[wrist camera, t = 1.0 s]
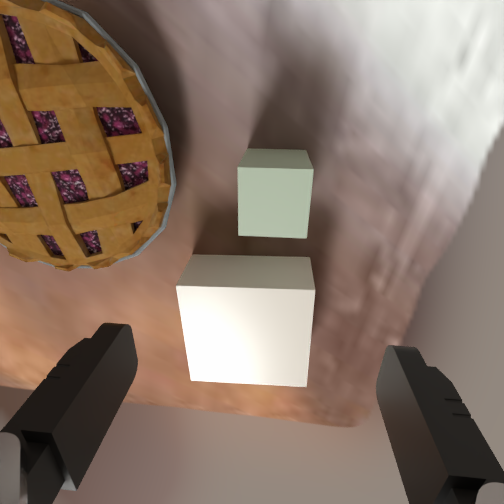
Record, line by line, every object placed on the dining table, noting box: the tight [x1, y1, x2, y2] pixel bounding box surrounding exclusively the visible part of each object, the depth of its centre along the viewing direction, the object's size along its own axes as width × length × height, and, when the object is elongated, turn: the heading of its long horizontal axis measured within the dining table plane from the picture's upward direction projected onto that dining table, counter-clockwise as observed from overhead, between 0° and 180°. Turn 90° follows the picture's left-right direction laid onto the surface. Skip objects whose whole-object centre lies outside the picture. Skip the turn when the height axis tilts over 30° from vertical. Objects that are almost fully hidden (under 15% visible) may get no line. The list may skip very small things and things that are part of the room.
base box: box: [176, 254, 315, 387], centre depth 32 cm, size 12×12×6 cm
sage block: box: [238, 148, 314, 238], centre depth 25 cm, size 5×5×7 cm
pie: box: [0, 0, 176, 271], centre depth 26 cm, size 22×22×5 cm
